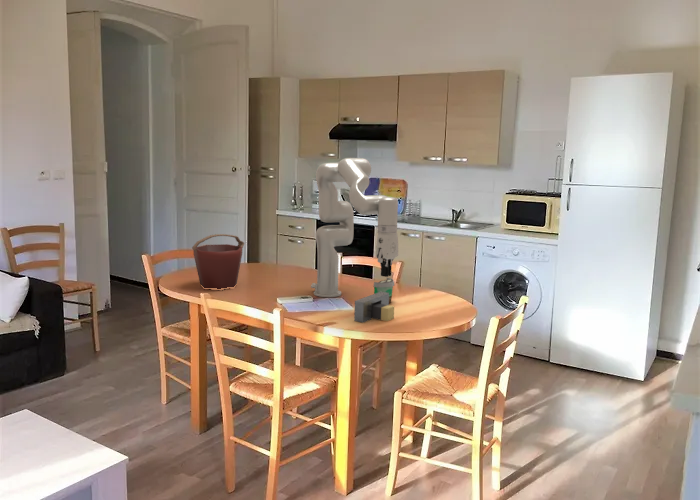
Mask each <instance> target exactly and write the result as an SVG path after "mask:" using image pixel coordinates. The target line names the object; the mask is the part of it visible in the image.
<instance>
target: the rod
mask: <svg viewBox="0 0 700 500" xmlns="http://www.w3.org/2000/svg"><path fill="white" fill-rule="evenodd" d="M394 318H395V306H394V305H390V304H389V305H384V304H379V303H373V304H372V315H371V319H373V320H374V319H375V320H378V321H379V320H380V321H384V322H389V321H391V320H394Z"/></svg>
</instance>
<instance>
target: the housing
mask: <svg viewBox="0 0 700 500" xmlns="http://www.w3.org/2000/svg"><path fill="white" fill-rule="evenodd" d="M373 303H379V304H384V305H390V304H389V293H387V292H378V293H375V294H374V293H373V294H369V295H368V296H367V295H366V296H364V297H362V298H359V299H356V300H354V322H358V323H366V322H368V321H370V320H372V318H371V315H372V304H373Z"/></svg>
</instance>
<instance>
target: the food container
mask: <svg viewBox="0 0 700 500" xmlns="http://www.w3.org/2000/svg"><path fill="white" fill-rule="evenodd" d="M372 286H373V288H374V289H373V294H375V293H378V292H387V293H389V305H390V304H392V298H393V290H394V289H393V288H394V286H395V281H394V279H393V278H390V277H386V279H384V280H380V281H379V282H377V281H374V282H373V285H372Z"/></svg>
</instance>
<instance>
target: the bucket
mask: <svg viewBox="0 0 700 500" xmlns="http://www.w3.org/2000/svg"><path fill="white" fill-rule="evenodd" d="M216 237H230V238H234V239H235V241H236V242H237V243H238V244H237V245H236V244H235V245H233V244H228V243H227V244H205V245H204V244H203V245H200V244H201V243H203V242H205V241H207V240H209V239H211V238H216ZM199 245H200V246H199ZM244 246H245V242H244V241H242V240H240V238H239V236H238V235H233V234H225V233H217V234H216V233H215V234H210V235H207V236H205V237H203V238H201V239H200V240H198V241H196V242H195V243H194V244H193V246H192V247H191V248H192V250H193V257H194V263H195V267H196V272H197V276H198V281H199V285H200V284H201V285H202V286H203V287H204V288H217V289H221V288H227V287H234V286H235V285H236V284H238V278H239V274H240V268H241V262H242V256H243V248H244ZM236 286H237V285H236Z"/></svg>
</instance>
